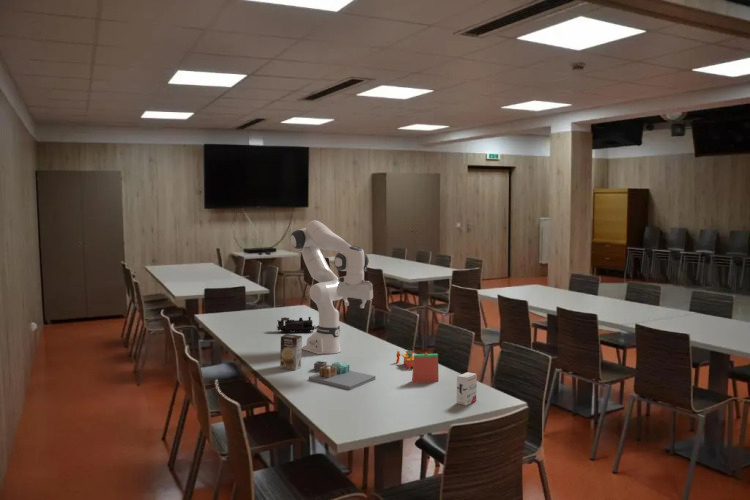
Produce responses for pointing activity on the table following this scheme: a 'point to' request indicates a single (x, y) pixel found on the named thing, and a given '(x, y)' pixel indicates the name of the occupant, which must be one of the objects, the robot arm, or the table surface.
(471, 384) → the ink box
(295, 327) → the toy train
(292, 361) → the coffee box
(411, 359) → the toy building block set
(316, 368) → the dark gray block
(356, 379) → the gear board
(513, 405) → the table surface
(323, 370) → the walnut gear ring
